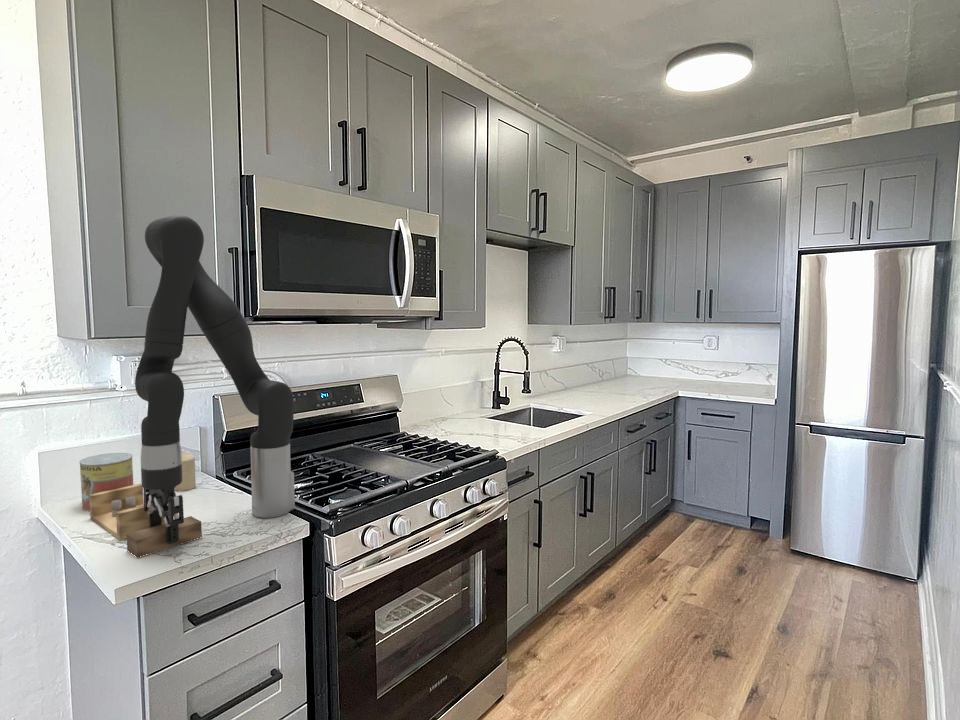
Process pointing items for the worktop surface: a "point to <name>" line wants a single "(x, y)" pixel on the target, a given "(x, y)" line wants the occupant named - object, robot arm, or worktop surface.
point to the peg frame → (120, 510)
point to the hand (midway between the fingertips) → (163, 537)
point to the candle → (187, 473)
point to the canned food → (104, 474)
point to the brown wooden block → (161, 537)
